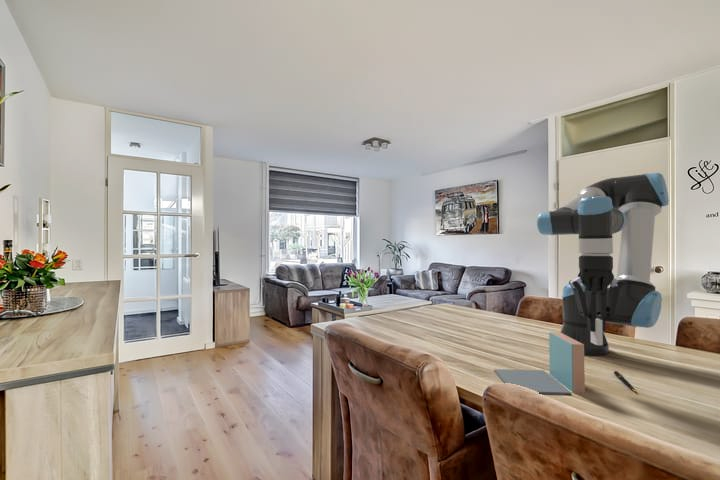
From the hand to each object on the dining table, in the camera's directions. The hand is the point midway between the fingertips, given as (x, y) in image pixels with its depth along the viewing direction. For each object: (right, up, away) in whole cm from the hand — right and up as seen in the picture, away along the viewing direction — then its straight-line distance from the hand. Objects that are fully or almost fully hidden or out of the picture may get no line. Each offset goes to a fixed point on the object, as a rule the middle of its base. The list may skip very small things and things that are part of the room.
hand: (596, 343), depth 91 cm
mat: (-17, -11, +1) cm, 20 cm away
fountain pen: (+8, -11, 0) cm, 13 cm away
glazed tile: (-8, -11, +1) cm, 13 cm away
